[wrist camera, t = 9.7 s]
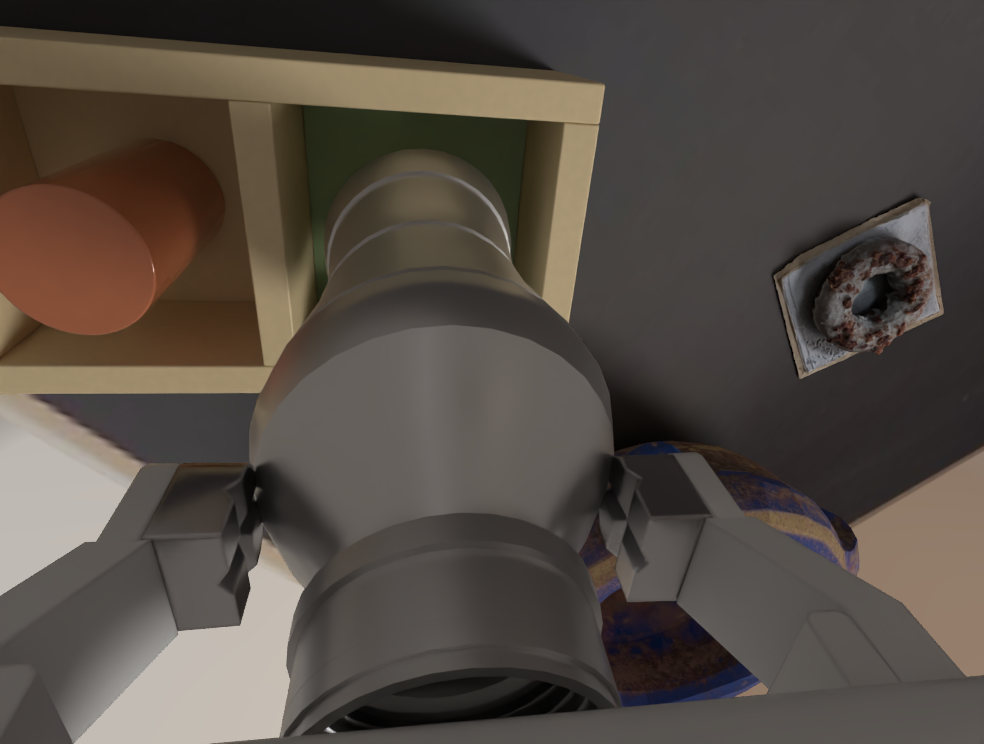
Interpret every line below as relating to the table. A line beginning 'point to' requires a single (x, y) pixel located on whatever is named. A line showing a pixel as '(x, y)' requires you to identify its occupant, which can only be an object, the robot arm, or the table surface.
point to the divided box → (273, 183)
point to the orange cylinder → (106, 235)
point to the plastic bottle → (433, 469)
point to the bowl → (670, 629)
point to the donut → (861, 288)
